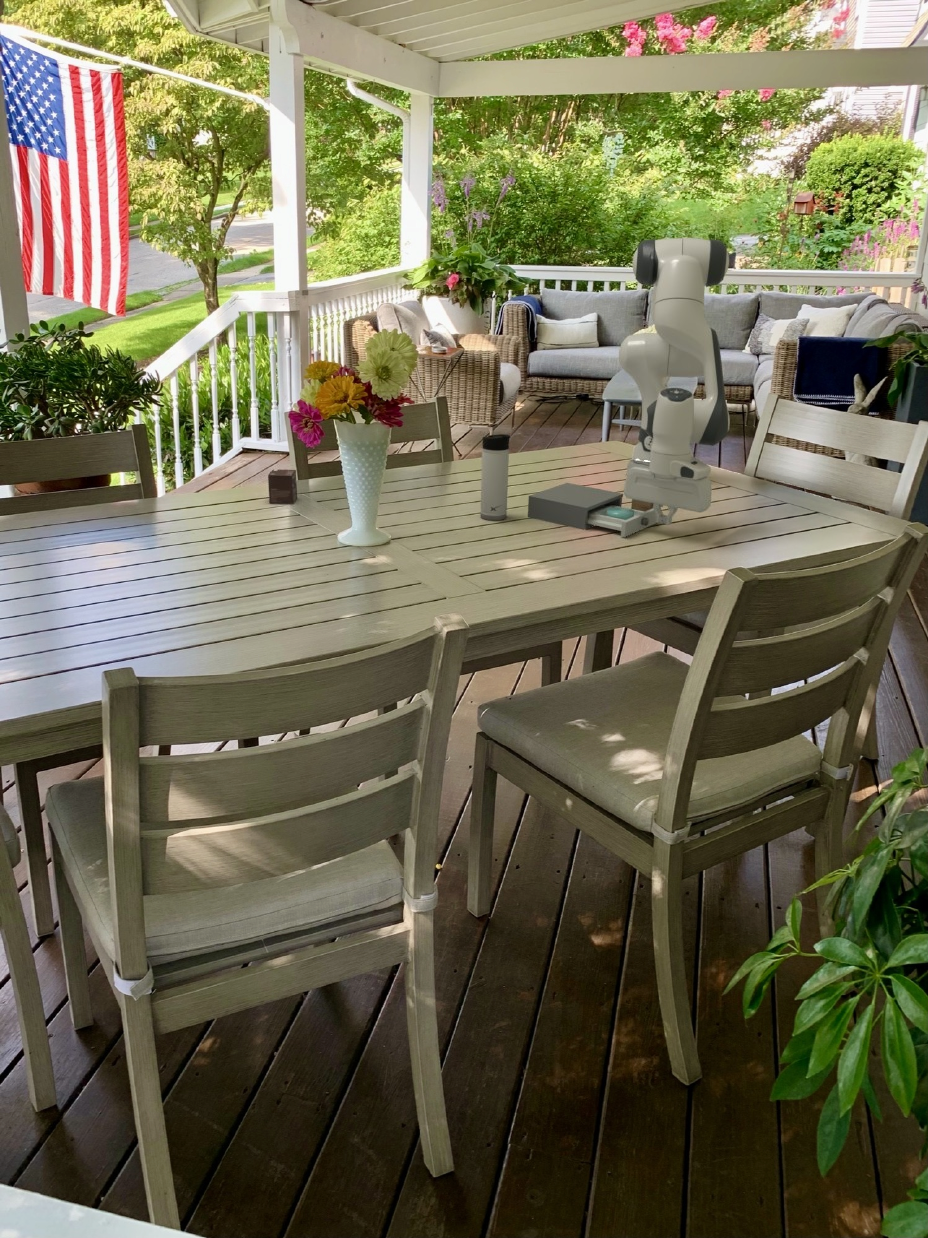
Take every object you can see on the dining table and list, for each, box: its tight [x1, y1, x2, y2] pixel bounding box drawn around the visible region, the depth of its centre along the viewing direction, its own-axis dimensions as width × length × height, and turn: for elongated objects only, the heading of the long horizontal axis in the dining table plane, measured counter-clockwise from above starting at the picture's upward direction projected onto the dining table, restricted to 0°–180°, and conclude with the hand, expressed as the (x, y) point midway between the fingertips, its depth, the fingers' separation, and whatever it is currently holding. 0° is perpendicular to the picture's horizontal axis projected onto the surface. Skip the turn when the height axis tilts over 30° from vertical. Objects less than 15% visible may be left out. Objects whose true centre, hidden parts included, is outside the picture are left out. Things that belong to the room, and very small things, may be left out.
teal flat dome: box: [606, 506, 634, 520], centre depth 237 cm, size 6×6×2 cm
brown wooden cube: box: [630, 499, 653, 512], centre depth 245 cm, size 5×5×5 cm
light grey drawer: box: [587, 505, 658, 538], centre depth 238 cm, size 17×17×4 cm
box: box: [267, 469, 298, 505], centre depth 251 cm, size 6×6×7 cm
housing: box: [527, 482, 624, 530], centre depth 244 cm, size 17×16×5 cm
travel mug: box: [479, 433, 511, 521], centre depth 239 cm, size 6×7×20 cm
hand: (663, 523), depth 231 cm, fingers closed
